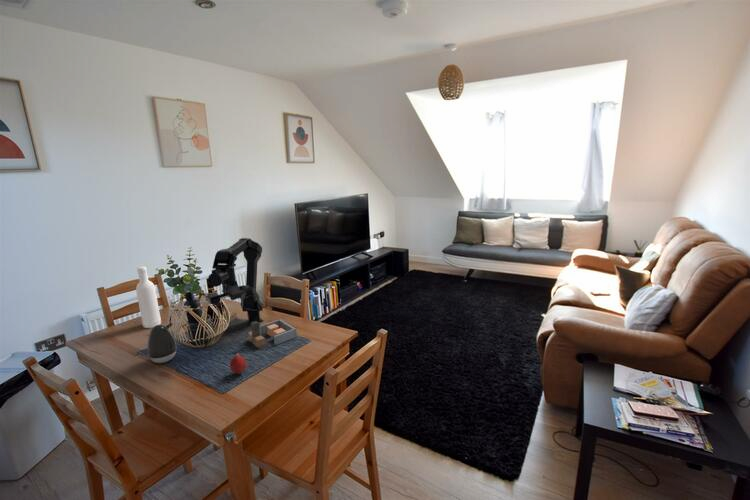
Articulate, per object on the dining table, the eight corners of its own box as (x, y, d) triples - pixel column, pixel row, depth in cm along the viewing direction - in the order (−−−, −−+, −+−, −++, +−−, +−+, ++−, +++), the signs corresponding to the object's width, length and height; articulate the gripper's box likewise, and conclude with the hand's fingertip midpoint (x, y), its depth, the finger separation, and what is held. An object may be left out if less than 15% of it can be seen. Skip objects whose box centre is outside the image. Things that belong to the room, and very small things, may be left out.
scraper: (248, 340, 159) (246, 319, 157) (255, 338, 161) (252, 317, 159) (259, 349, 151) (257, 327, 149) (266, 346, 153) (263, 325, 151)
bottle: (139, 328, 174) (127, 269, 167) (149, 321, 181) (138, 265, 174) (155, 328, 174) (144, 269, 167) (164, 321, 181) (154, 264, 174)
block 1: (267, 334, 164) (266, 326, 163) (275, 331, 167) (274, 323, 166) (271, 337, 162) (270, 329, 161) (279, 334, 164) (278, 326, 163)
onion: (237, 379, 130) (235, 359, 128) (227, 375, 133) (225, 355, 131) (250, 371, 134) (248, 352, 133) (241, 367, 137) (238, 348, 136)
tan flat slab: (211, 335, 165) (211, 333, 165) (192, 332, 169) (192, 330, 168) (246, 313, 189) (246, 311, 189) (229, 311, 192) (229, 309, 192)
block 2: (274, 338, 160) (273, 330, 159) (282, 335, 162) (281, 327, 161) (278, 341, 157) (277, 333, 156) (286, 338, 160) (285, 330, 159)
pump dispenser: (183, 358, 145) (177, 324, 142) (155, 369, 138) (148, 333, 134) (173, 350, 152) (167, 317, 148) (145, 360, 144) (138, 326, 141)
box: (260, 333, 165) (259, 326, 164) (280, 326, 171) (280, 319, 171) (275, 345, 154) (274, 336, 153) (296, 337, 161) (296, 328, 160)
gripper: (212, 288, 142) (217, 324, 145) (257, 277, 154) (260, 311, 157) (203, 282, 150) (208, 316, 153) (246, 272, 162) (250, 304, 165)
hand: (232, 312), depth 157 cm, fingers open, 9 cm apart
